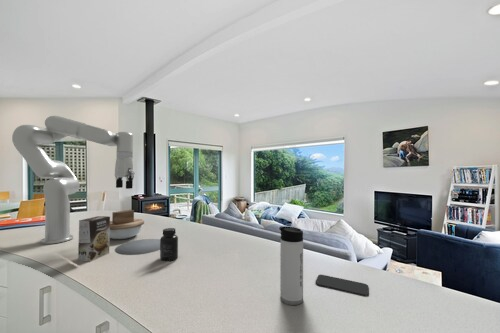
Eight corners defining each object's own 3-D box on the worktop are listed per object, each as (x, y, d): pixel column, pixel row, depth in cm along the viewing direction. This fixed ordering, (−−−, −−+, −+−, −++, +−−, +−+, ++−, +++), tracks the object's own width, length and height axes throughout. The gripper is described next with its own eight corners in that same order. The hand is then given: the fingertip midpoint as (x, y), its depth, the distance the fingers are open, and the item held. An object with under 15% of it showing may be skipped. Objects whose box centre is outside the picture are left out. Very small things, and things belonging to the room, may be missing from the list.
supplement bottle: (181, 257, 93) (181, 228, 93) (169, 264, 87) (169, 232, 87) (168, 255, 96) (169, 226, 96) (156, 260, 90) (156, 230, 90)
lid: (93, 225, 117) (93, 212, 117) (132, 218, 134) (132, 207, 134) (111, 231, 106) (111, 216, 106) (151, 223, 122) (151, 210, 122)
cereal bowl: (96, 240, 115) (97, 226, 115) (126, 232, 131) (126, 220, 131) (120, 245, 109) (120, 230, 109) (148, 235, 124) (148, 222, 124)
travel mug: (277, 293, 66) (277, 224, 67) (299, 292, 67) (299, 224, 67) (281, 306, 60) (282, 230, 60) (306, 305, 61) (306, 229, 61)
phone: (368, 295, 65) (314, 283, 71) (368, 298, 65) (314, 286, 71) (368, 284, 71) (318, 273, 78) (368, 286, 71) (318, 276, 78)
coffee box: (91, 263, 87) (91, 220, 88) (77, 261, 89) (78, 220, 89) (110, 254, 96) (110, 216, 97) (97, 253, 98) (97, 215, 98)
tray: (105, 249, 102) (105, 248, 102) (150, 237, 120) (150, 236, 120) (131, 260, 90) (131, 258, 90) (177, 245, 108) (177, 244, 108)
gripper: (109, 155, 122) (108, 187, 122) (126, 154, 113) (125, 189, 112) (123, 156, 128) (122, 186, 128) (140, 155, 119) (140, 188, 119)
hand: (124, 188), depth 120 cm, fingers open, 9 cm apart
